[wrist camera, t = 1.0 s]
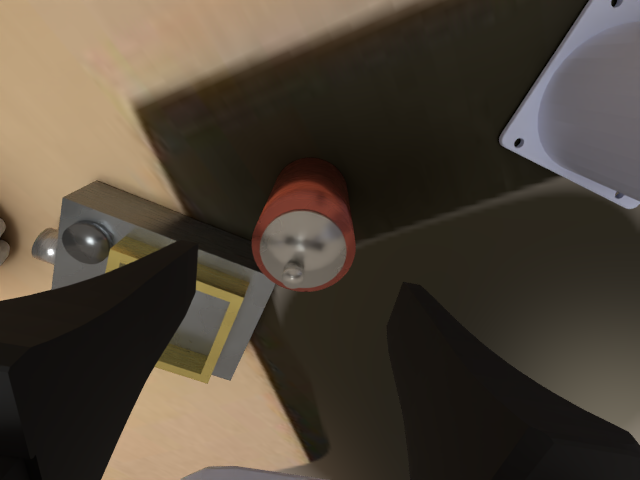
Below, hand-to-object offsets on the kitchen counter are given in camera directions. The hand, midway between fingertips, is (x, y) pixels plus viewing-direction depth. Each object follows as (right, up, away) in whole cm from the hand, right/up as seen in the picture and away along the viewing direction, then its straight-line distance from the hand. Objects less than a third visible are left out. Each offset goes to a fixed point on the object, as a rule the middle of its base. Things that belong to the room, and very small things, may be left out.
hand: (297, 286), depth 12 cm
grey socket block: (-9, -1, +12) cm, 15 cm away
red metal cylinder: (0, +4, +9) cm, 10 cm away
